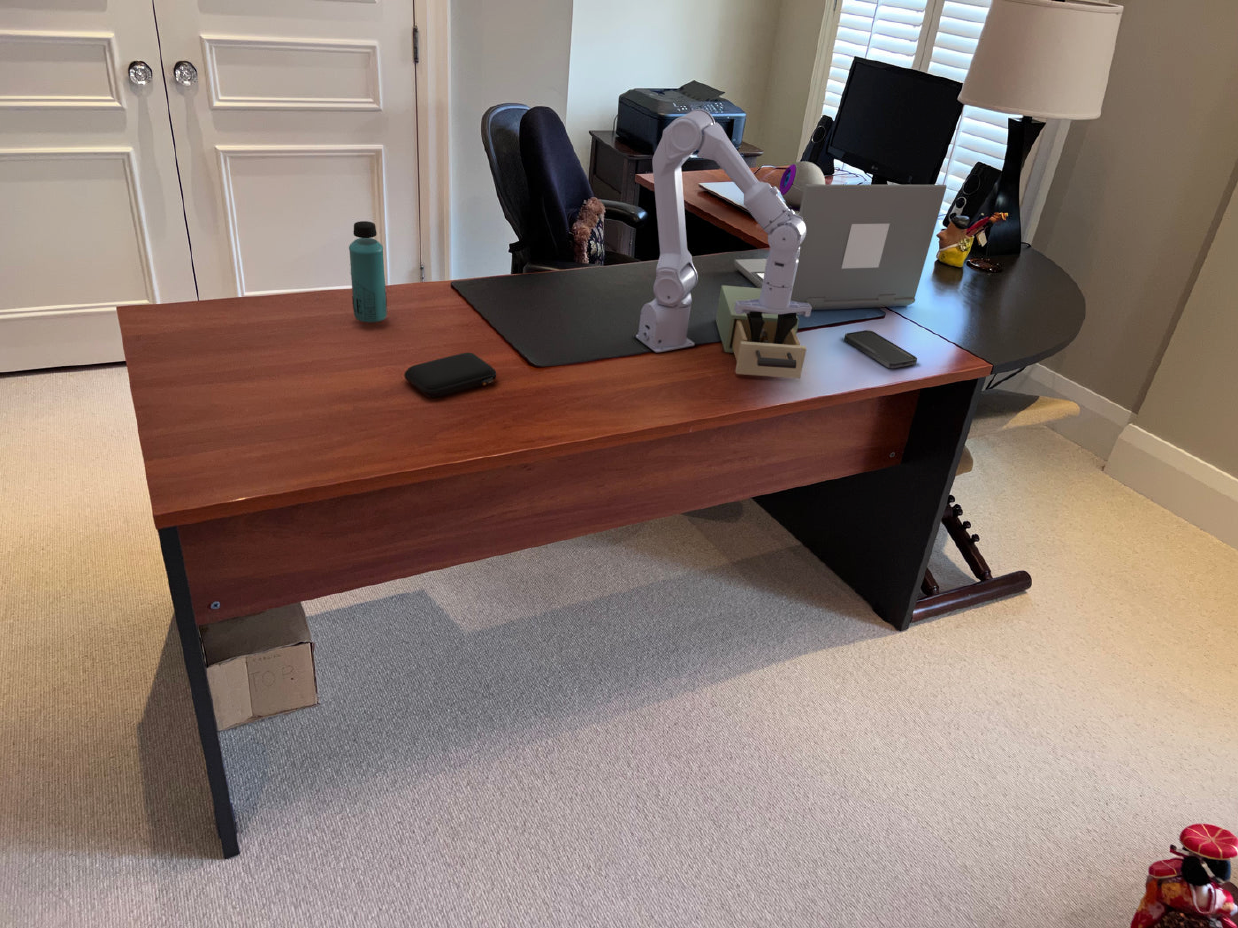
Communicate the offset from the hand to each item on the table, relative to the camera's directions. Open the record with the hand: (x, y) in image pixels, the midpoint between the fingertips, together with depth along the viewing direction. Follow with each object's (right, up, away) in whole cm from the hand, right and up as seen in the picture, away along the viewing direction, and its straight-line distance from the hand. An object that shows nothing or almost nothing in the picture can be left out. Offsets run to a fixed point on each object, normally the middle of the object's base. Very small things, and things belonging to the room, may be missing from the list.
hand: (765, 348), depth 176 cm
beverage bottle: (-77, +5, +2) cm, 77 cm away
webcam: (+24, +52, +92) cm, 108 cm away
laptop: (+20, +20, +41) cm, 50 cm away
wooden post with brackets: (0, -2, +1) cm, 2 cm away
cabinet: (-1, +4, +13) cm, 13 cm away
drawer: (0, -3, 0) cm, 3 cm away
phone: (+26, +1, +13) cm, 29 cm away
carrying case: (-58, -8, -16) cm, 61 cm away
